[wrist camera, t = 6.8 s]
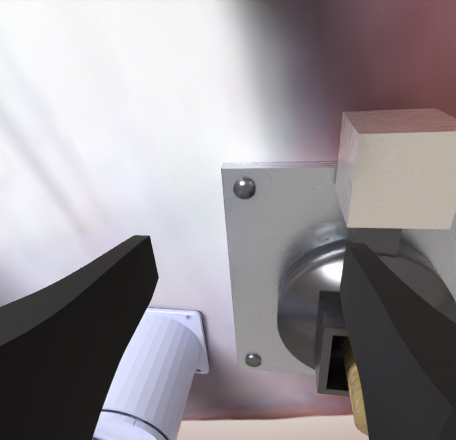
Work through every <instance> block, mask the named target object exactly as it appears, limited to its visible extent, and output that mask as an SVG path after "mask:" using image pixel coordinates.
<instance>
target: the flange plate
mask: <svg viewBox="0 0 456 440" xmlns="http://www.w3.org/2000/svg"><path fill="white" fill-rule="evenodd" d="M337 165H338V161H337V162H271V163H224V164H223V166H222V168H221V173H222V185H223V197H224V208H225V220H226V231H227V243H228V255H229V266H230V278H231V289H232V301H233V313H234V324H235V336H236V348H237V359H238V368H243V369H254V370H264V371H275V372H285V373H296V374H307V375H316V372H315V370H314V369H312V368H310V367H308V366H306V365H305V364H303V363H302V362H300V361H299V360H298V359H296V358H295V357H294V356H293V355H292V354H291V353H290V352H289V351H288V350H287V348H286V347H285V345H284V344H283V342H282V340H281V338H280V335H279V332H278V327H277V306H278V291H279V287H280V284H281V281H282V279H283V277H284V275H285V274H286V272H287V271H288V269H289V268H290V267H291V266H292V265H293V264H294V263H295V262H296V261H297V260H298V259H300V258H301V257H302V256H303V255H305V254H307V253H308V252H310V251H311V250H313V249H315V248H317V247H319V246H322V245H325V244H327V243H330V242H334V241H338V240H342V239H347V235H348V227H347V226H346V223H345V219H344V216H343V213H342V210H341V207H340V203H339V200H338V197H337V194H336V190H335V185H336V175H337ZM399 243H401V244H403V245H405V246H408V247H410V248H412V249H414V250H415V251H417V252H419V253H420V254H422V255H423V256H424V257H425V258H426V259H428V260H429V261H430V263H431V264H432V265H433V266H434V267H435V269H436V270H437V272H438V273H439V275H440V276H441V278H442V280H443V281H444V283H445V284H446V286H447V288H448V289H449V291H450V292H451V294H452V296H453V297H454V299H455V302H456V211H455V214H454V218H453V221H452V224H451V227H450V229H404V228H402V233H401V237H400V242H399Z"/></svg>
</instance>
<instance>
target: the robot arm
mask: <svg viewBox="0 0 456 440" xmlns="http://www.w3.org/2000/svg"><path fill="white" fill-rule="evenodd" d="M158 278H159V277H158V272H157V267H156V263H155V258H154V253H153V249H152V244H151V239H150V236H140V235H135V236H133V237H131V238H129V239H127V240H126V241H124V242H122V243H121V244H119V245H117V246H116V247H114V248H113V249H111V250H110V251H108V252H106V253H105V254H103V255H102V256H100V257H99V258H97V259H95V260H94V261H92V262H91V263H89V264H87V265H86V266H84V267H82V268H80V269H79V270H77V271H75V272H74V273H72V274H70V275H68V276H67V277H65V278H63V279H61V280H59V281H57V282H56V283H54V284H52V285H50V286H48V287H46V288H43V289H41V290H39V291H37V292H35V293H33V294H31V295H28V296H26V297H23V298H21V299H19V300H16V301H14V302H11V303H9V304H7V305H4V306H2V307H0V440H176V439H177V435H178V432H179V428H180V424H181V421H182V417H183V413H184V410H185V406H186V402H187V399H188V395H189V391H190V388H191V384H192V380H193V377H194V373H198V374H207V373H208V372H209V364H208V357H207V351H206V344H205V338H204V331H203V325H202V318H201V314H200V313H199V312H197V311H190V310H174V309H159V308H147V307H148V305H149V303H150V301H151V299H152V296H153V293H154V290H155V287H156V284H157V281H158ZM340 295H341V303H342V311H343V316H344V320H345V324H346V328H347V332H348V336H349V340H350V344H351V347H352V351H353V355H354V359H355V363H356V367H357V370H358V374H359V379H360V384H361V389H362V395H363V402H364V408H365V415H366V421H367V429H368V436H369V440H456V323H454V322H453V321H452V320H450V319H449V318H447V317H446V316H445V315H443V314H442V313H441V312H439V311H438V310H436V309H435V308H434V307H433V306H431V305H430V304H429V303H427V302H426V301H425V300H424V299H423V298H421V297H420V296H419V295H418V294H417V293H416V292H414V291H413V290H412V289H411V288H410V287H409V286H407V285H406V284H405V283H404V282H403V281H402V280H401V279H400V278H399V277H398V276H397V275H396V274H395V273H393V272H392V271H391V270H390V269H389V268H388V267H387V266H386V265H385V264H384V263H383V262H382V261H381V260H380V258H379V257H378V256H377V255H376V254H375V253H374V252H373V251H372V250H371V249H370V248H369V247H368V246H367V245H366V244H365V243H346V247H345V254H344V261H343V269H342V276H341V283H340ZM190 316H191V317H190Z"/></svg>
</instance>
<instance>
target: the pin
mask: <svg viewBox="0 0 456 440" xmlns="http://www.w3.org/2000/svg"><path fill="white" fill-rule="evenodd" d="M340 341H341V347H342V353H343V358H344V364H345V370H346V376H347V381H348V387H349V393H350V399H351V404H352V410H353V416H354V421H355V425H356V427H357V428H358V429H359V430H360V431H361V432H362V433H364V434H366V435H368V429H367V421H366V415H365V408H364V402H363V395H362V389H361V384H360V379H359V374H358V370H357V367H356V363H355V359H354V355H353V351H352V347H351V344H350V340H349V336H340Z"/></svg>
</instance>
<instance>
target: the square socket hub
mask: <svg viewBox="0 0 456 440" xmlns="http://www.w3.org/2000/svg"><path fill="white" fill-rule="evenodd" d="M335 190H336V194H337V197H338V200H339V203H340V207H341V210H342V213H343V216H344V219H345V223H346V226H347V227H348V235H347V239H342V240H338V241H334V242H330V243H327V244H325V245H322V246H319V247H317V248H315V249H313V250H311V251H310V252H308V253H307V254H305V255H303V256H302V257H301V258H300V259H298V260H297V261H296V262H295V263H294V264H293V265H292V266H291V267H290V268H289V269H288V271H287V272H286V274H285V275H284V277H283V279H282V281H281V284H280V287H279V291H278V306H277V327H278V332H279V335H280V338H281V340H282V342H283V344H284V345H285V347H286V348H287V350H288V351H289V352H290V353H291V354H292V355H293V356H294V357H295V358H296V359H298V360H299V361H300V362H302V363H303V364H305V365H306V366H308V367H310V368H312V369H314V370H315V372H316V384H317V393H321V394H331V395H340V396H350V393H349V387H348V381H347V376H346V370H345V364H344V358H343V353H342V347H341V341H340V336H348V332H347V328H346V324H345V320H344V316H343V311H342V303H341V295H340V283H341V276H342V269H343V261H344V254H345V247H346V243H365V244H366V245H367V246H368V247H369V248H370V249H371V250H372V251H373V252H374V253H375V254H376V255H377V256H378V257H379V258H380V260H381V261H382V262H383V263H384V264H385V265H386V266H387V267H388V268H389V269H390V270H391V271H392V272H393V273H395V274H396V275H397V276H398V277H399V278H400V279H401V280H402V281H403V282H404V283H405V284H406V285H407V286H409V287H410V288H411V289H412V290H413V291H414V292H416V293H417V294H418V295H419V296H420V297H421V298H423V299H424V300H425V301H426V302H427V303H429V304H430V305H431V306H433V307H434V308H435V309H436V310H438V311H439V312H441V313H442V314H443V315H445V316H446V317H447V318H449V319H450V320H452V321H453V322H454V323H456V302H455V299H454V297H453V296H452V294H451V292H450V291H449V289H448V288H447V286H446V284H445V283H444V281H443V280H442V278H441V276H440V275H439V273H438V272H437V270H436V269H435V267H434V266H433V265H432V264H431V263H430V261H429V260H428V259H426V258H425V257H424V256H423V255H422V254H420V253H419V252H417V251H415V250H414V249H412V248H410V247H408V246H405V245H403V244H401V243H399V242H400V237H401V233H402V228H404V229H450V227H451V224H452V221H453V218H454V214H455V211H456V118H454V117H452V116H450V115H448V114H446V113H444V112H442V111H440V110H438V109H436V108H425V109H400V110H376V111H351V112H343V114H342V124H341V134H340V144H339V154H338V165H337V175H336V185H335Z"/></svg>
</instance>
